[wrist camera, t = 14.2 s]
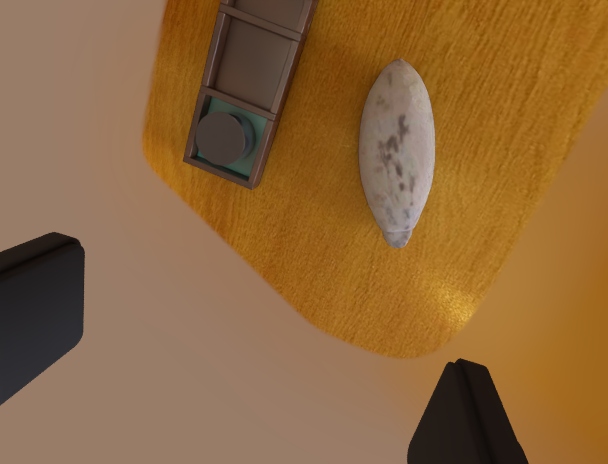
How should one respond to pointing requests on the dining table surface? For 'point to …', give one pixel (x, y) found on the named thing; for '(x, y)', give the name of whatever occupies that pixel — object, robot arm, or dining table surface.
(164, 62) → the dining table surface
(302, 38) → the divided tray
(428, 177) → the decorative stone
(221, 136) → the dark gray cylinder
